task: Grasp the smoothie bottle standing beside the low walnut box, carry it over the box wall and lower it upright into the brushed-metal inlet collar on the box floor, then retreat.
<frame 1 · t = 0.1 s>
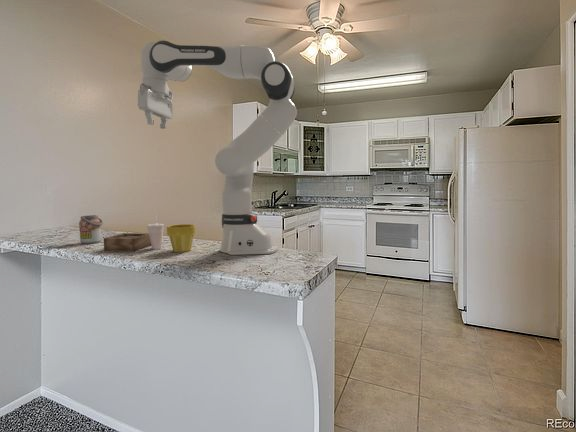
hand: (157, 126, 125), 48 cm above the countertop, fingers open, 8 cm apart
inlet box: (129, 247, 133), on the countertop
decorated jar: (92, 243, 146), on the countertop
smoothie: (156, 248, 132), on the countertop
plant pot: (182, 250, 127), on the countertop
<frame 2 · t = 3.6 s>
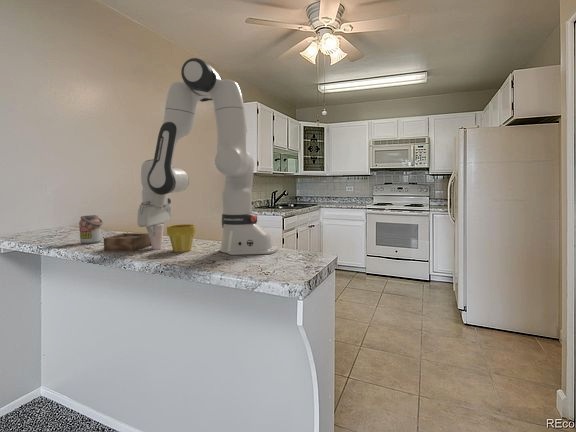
hand: (156, 235, 131), 5 cm above the countertop, fingers closed on smoothie, 5 cm apart
smoothie: (156, 248, 132), on the countertop, touching gripper
everything else where it was.
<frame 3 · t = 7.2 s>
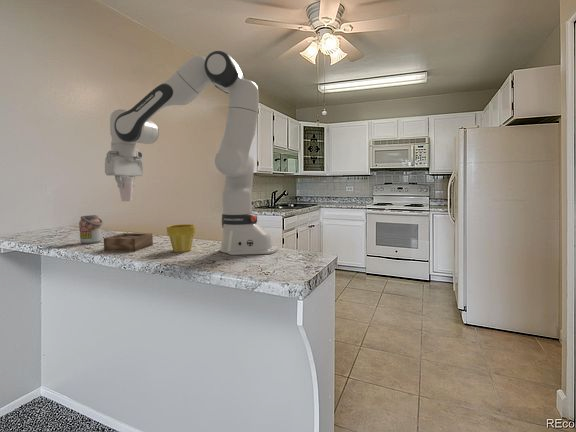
hand: (126, 187, 131), 25 cm above the countertop, fingers closed on smoothie, 5 cm apart
smoothie: (126, 201, 131), point 19 cm above the countertop, touching gripper
everything else where it was.
when the fingers open (8 cm above the countertop, at t = 9.8 s): smoothie drops 1 cm, resting on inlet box.
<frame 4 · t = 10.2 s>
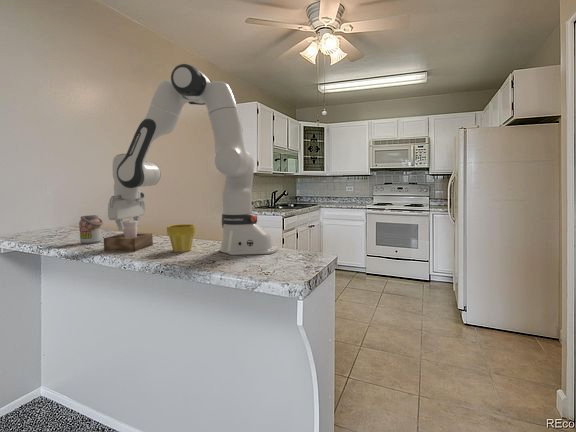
hand: (128, 228, 133), 8 cm above the countertop, fingers open, 8 cm apart
smoothie: (131, 245, 134), point 1 cm above the countertop, touching gripper, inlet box
everything else where it was.
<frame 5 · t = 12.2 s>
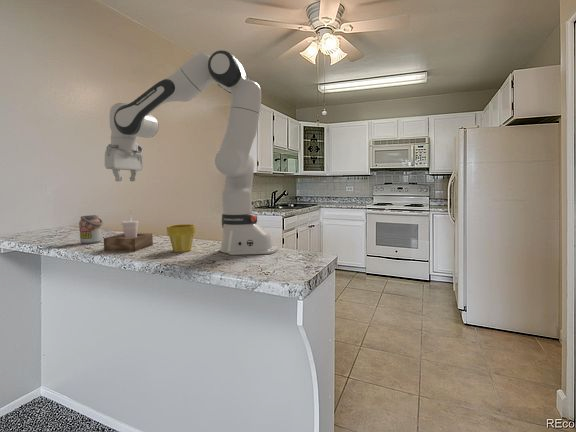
hand: (126, 181, 131), 27 cm above the countertop, fingers open, 8 cm apart
smoothie: (131, 245, 134), point 1 cm above the countertop, touching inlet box
everything else where it was.
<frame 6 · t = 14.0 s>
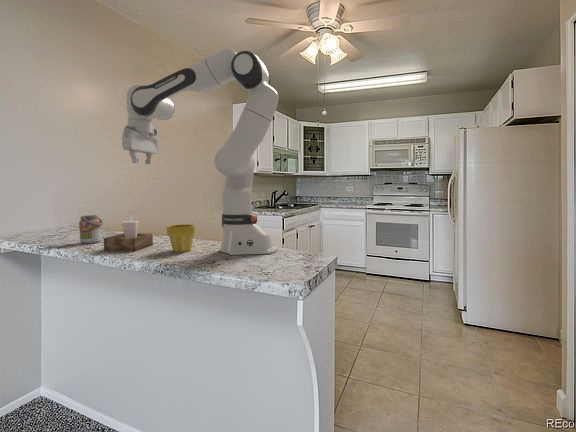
hand: (142, 163, 132), 34 cm above the countertop, fingers open, 8 cm apart
nothing on the countertop moved.
at the end: smoothie 1.0 cm off-centre on the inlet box, point 0.8 cm above the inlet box's base; smoothie tilted 0°; the gripper is holding nothing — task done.
